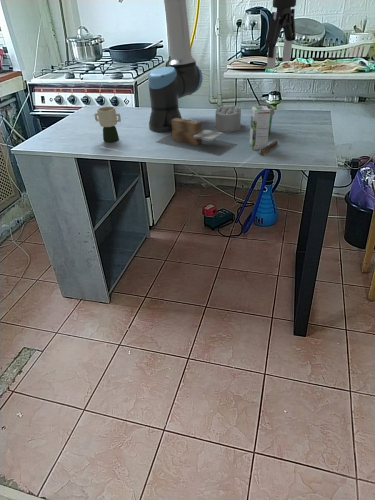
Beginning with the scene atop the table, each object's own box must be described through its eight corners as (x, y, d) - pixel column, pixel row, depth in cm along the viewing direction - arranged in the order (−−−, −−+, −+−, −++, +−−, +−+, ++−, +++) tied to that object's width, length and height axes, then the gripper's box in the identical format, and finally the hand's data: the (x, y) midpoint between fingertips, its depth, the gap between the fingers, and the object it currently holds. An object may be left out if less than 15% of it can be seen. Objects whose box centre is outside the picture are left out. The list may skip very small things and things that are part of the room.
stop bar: (260, 154, 137) (260, 150, 136) (274, 144, 145) (274, 140, 144) (263, 155, 137) (263, 151, 136) (277, 144, 144) (277, 140, 144)
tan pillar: (168, 142, 151) (167, 121, 147) (180, 135, 157) (179, 116, 152) (211, 150, 141) (211, 129, 137) (222, 144, 147) (222, 123, 142)
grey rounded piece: (241, 123, 168) (242, 102, 163) (238, 133, 158) (239, 111, 153) (218, 122, 170) (218, 102, 165) (213, 132, 160) (213, 111, 155)
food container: (272, 138, 150) (274, 112, 145) (256, 138, 152) (258, 112, 146) (273, 128, 160) (275, 103, 154) (258, 128, 161) (259, 103, 156)
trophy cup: (127, 138, 159) (122, 106, 151) (120, 144, 153) (115, 111, 146) (102, 137, 161) (97, 105, 154) (95, 143, 156) (89, 110, 148)
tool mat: (155, 143, 152) (155, 142, 152) (174, 133, 161) (174, 132, 161) (219, 156, 138) (219, 155, 137) (237, 145, 146) (237, 144, 146)
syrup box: (248, 145, 145) (250, 106, 137) (264, 144, 146) (266, 105, 137) (252, 151, 141) (254, 110, 132) (268, 149, 141) (271, 109, 132)
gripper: (280, -5, 114) (274, 71, 127) (310, -10, 131) (301, 58, 143) (257, -5, 118) (253, 70, 130) (289, -10, 134) (282, 57, 147)
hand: (278, 64), depth 137 cm, fingers open, 13 cm apart
